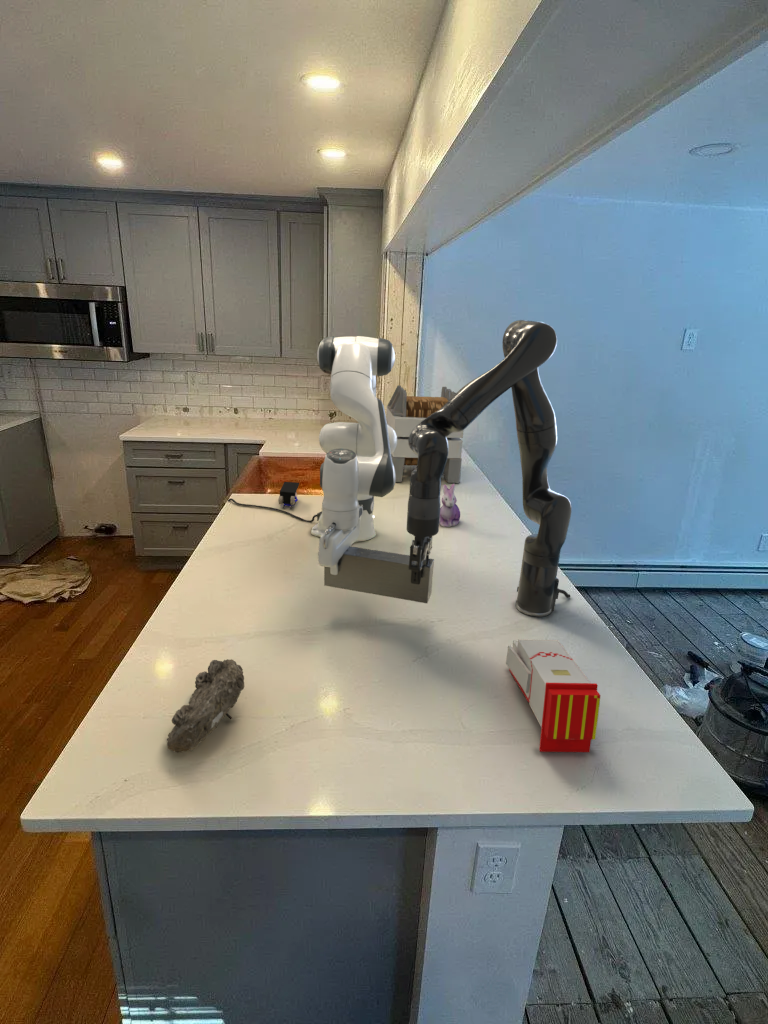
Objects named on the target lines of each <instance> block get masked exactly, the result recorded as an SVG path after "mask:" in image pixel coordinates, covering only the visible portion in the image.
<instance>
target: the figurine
mask: <svg viewBox="0 0 768 1024" xmlns="http://www.w3.org/2000/svg"><path fill="white" fill-rule="evenodd" d="M455 488H456V484H455V483H451V486H450V487H448V486H447V484H443V485H442V489H443V495H442V497H441V503H442V506H440V519H439V526H441V527H446V528H449V527H455V526H457V525H458V524H459V523H460V518H461V511H460V508H459V506H458V504H456V503H457V501H458V500H457V497H456V495H455Z"/></svg>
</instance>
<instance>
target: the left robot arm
mask: <svg viewBox="0 0 768 1024" xmlns="http://www.w3.org/2000/svg"><path fill="white" fill-rule="evenodd" d="M316 360H317V363H318V365H319V369H320V370H321V371H322V372H323V373H324V374H327V375H330V383H329V393H330V401H331V402H332V404H333V406H335V408H336V409H337V410H339V412H341V413H342V414H344V415H345V416H348V417H350V418H352V419H354V420H355V421H356V422H348V421H336V422H330V423H325V424H324V425H323V426H322V427H321V429H320V431H319V434H318V442H319V446H320V448H321V450H322V451H323V452H324V453H325V456H324V461H323V462H322V463H321V465H320V468H319V487H320V488H321V490H322V493H323V499H322V502H321V511H319V512H316V513H317V514H314V515H313V516H312V518H311V519H310V520H307V519H304V518H302V517H300V516H297V515H295V514H292V513H290V512H289V511H286V510H283V509H280V508H276V507H270V506H264V505H258V504H248V503H247V504H245V503H240V502H237V501H236V500H235V499H234V498H229V499H228V500H227V502H233V503H234V504H236V506H241V507H251V508H259V509H265V510H272V511H277V512H279V513H280V512H281V513H284V514H286V515H289V516H291V517H293V518H295V519H298V520H300V521H301V522H305V523H312V522H314V521H315V518H316V520H317V523H315V524H314V525H313V526H312V528H311V530H310V533H311V536H315V537H319V542H318V553H317V562H318V565H319V566H321V567H324V566H325V567H330V573H331V574H333V575H337V574H338V572H339V566H338V560H339V559H340V558H341V557H342V556H343V553H344V552H345V551H346V550H347V549H348V548H349V547H350V546H351V547H352V545H354V543H357V542H365V541H368V540H372V539H373V538H375V537H376V535H377V532H376V528H375V523H374V518H375V515H374V513H373V512H374V509H375V497H377V498H384V497H385V496H387V495H388V494H390V493H391V492H392V491H393V490H394V489H395V486H396V482H395V481H396V474H395V468H394V465H393V462H392V458H391V454H392V453H393V452H394V450H395V449H396V446H397V435H396V433H395V431H394V429H393V428H392V427H391V426H389V425H388V424H387V421H386V410H385V406H384V403H383V401H382V400H381V399H380V398H378V397H377V377H382V376H383V377H384V376H387V375H389V374H390V373H391V372H392V369H393V367H394V364H395V361H396V352H395V349H394V346H393V343H392V342H391V341H390V340H389V339H387V338H383V337H379V338H376V337H370V336H363V335H356V336H338V337H335V336H327V337H324V338H323V339H322V340H321V341H320V342H319V345H318V347H317V351H316Z"/></svg>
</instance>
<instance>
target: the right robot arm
mask: <svg viewBox="0 0 768 1024" xmlns="http://www.w3.org/2000/svg"><path fill="white" fill-rule="evenodd" d="M557 345H558V336H557V333H556V330H555V329H554V327H553V326H551V325H550V324H548V323H546V322H543V321H537V320H536V321H535V320H534V321H533V320H527V319H517V320H514V321H513V322H511V323H510V324H508V326H507V327H506V329H505V331H504V332H503V336H502V353H503V359H502V360H501V361H500V362H499V363H497V364H496V365H495V366H493V367H492V368H491V369H489V370H487V371H486V372H484V373H482V374H481V375H479V376H476V377H475V378H474V379H472V380H471V381H469V382H467V383H466V384H465V385H463V386H462V387H461V388H460V389H458V391H457V392H455V393H456V394H455V395H454V396H453V397H452V398H451V399H450V400H449V401H448V402H447V403H446V404H445V405H444V406H443V407H442V408H441V409H439V410H438V411H436V412H434V413H433V414H431V415H430V416H429V417H427V418H426V419H424V420H423V421H421V422H420V423H419V424H418V425H417V426H416V427H415V428H414V429H413V430H412V432H411V434H410V436H409V440H408V444H409V447H410V449H411V450H412V451H413V452H414V453H415V454H416V455H418V464H417V466H416V468H414V469H413V470H412V471H411V474H410V479H409V495H408V500H407V512H406V515H407V516H406V532H407V533H408V534H410V535H411V536H413V537H414V539H412V540H411V544H410V546H409V555H410V559H409V570H411V583H412V584H418V585H419V584H420V582H421V569H422V564H423V561H425V559H426V558H429V559H430V554H431V550H432V549H433V537H434V536H437V534H439V532H440V531H439V530H440V523H439V519H440V508H441V489H442V476H443V475H444V474H443V471H444V468H445V464H446V461H447V457H448V441H447V438H446V437H447V436H448V435H450V434H451V433H454V432H461V431H463V430H464V431H465V429H467V428H468V427H469V426H470V425H471V424H472V423H473V422H474V421H475V420H476V419H477V418H478V417H479V416H480V415H481V414H482V413H483V412H484V411H485V410H486V409H487V408H488V407H489V406H491V405H492V404H493V403H494V402H495V401H496V400H497V399H499V397H501V396H502V395H503V394H504V393H506V392H507V391H508V390H510V389H511V394H512V395H511V396H512V404H513V410H514V419H515V429H516V436H517V444H518V450H519V457H520V459H519V460H520V466H521V480H522V481H521V482H522V485H521V486H522V487H521V489H522V508H523V514H525V517H526V518H528V519H529V520H530V521H532V522H534V523H535V524H536V525H539V528H538V531H537V533H534V534H529V535H527V536H526V538H525V539H524V543H523V544H524V545H523V552H522V560H521V566H520V572H519V574H520V575H519V581H518V586H517V588H516V593H517V595H516V600H515V608H516V610H518V611H519V612H521V613H522V614H524V615H527V616H531V617H546V616H549V615H550V614H551V613H552V612H555V608H556V603H557V600H558V599H559V594H563V595H564V597H565V598H566V599H570V598H571V594H570V593H568V592H567V591H566V590H564V589H561V588H559V581H560V579H559V578H558V577H557V576H558V569H559V564H560V558H561V557H560V556H561V552H562V548H563V546H564V544H565V542H566V540H567V535H568V531H569V526H570V522H571V517H572V502H571V501H570V498H568V497H567V496H565V495H563V494H561V493H559V492H556V491H554V490H552V489H551V488H550V483H549V476H548V475H549V474H548V467H549V463H550V461H551V459H552V457H553V455H554V454H555V451H556V448H557V445H558V428H557V418H556V413H555V410H554V408H553V405H552V403H551V401H550V398H549V397H548V395H547V392H546V391H545V389H544V386H543V384H542V381H541V377H540V374H539V367H541V366H542V365H544V364H545V363H546V362H547V361H548V360H549V359H551V357H552V356H553V354H554V353H555V351H556V348H557ZM415 561H417V562H418V565H415V564H414V562H415Z"/></svg>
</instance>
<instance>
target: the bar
mask: <svg viewBox="0 0 768 1024" xmlns="http://www.w3.org/2000/svg"><path fill="white" fill-rule="evenodd" d="M409 559H410V554H409V555H408V554H403V553H396V552H389V551H385V550H384V551H383V550H377V549H371V548H364V547H357V546H352V545H351V546H350V547H349V548H348V549H347V550H346V551H345V552H344V553H343V556H342V557H341V558H340V559H339V560H338V566H339V572H338V574H337V575H333V574H331V573H330V567H325V566H323V570H324V571H323V574H324V575H323V586H324V587H330V588H337V589H342V590H346V591H353V592H359V593H364V594H371V595H376V596H382V597H388V598H392V599H393V598H394V599H398V600H399V599H400V600H405V601H411V602H416V603H421V604H428V603H429V601H430V599H431V596H432V592H433V578H434V568H435V567H434V565H435V558H430V557H429V558H426V559H425V561H423V564H422V569H421V582H420V584H419V585H418V584H412V583H411V570H409ZM414 564H415V565H418V562H417V561H415V562H414Z"/></svg>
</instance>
